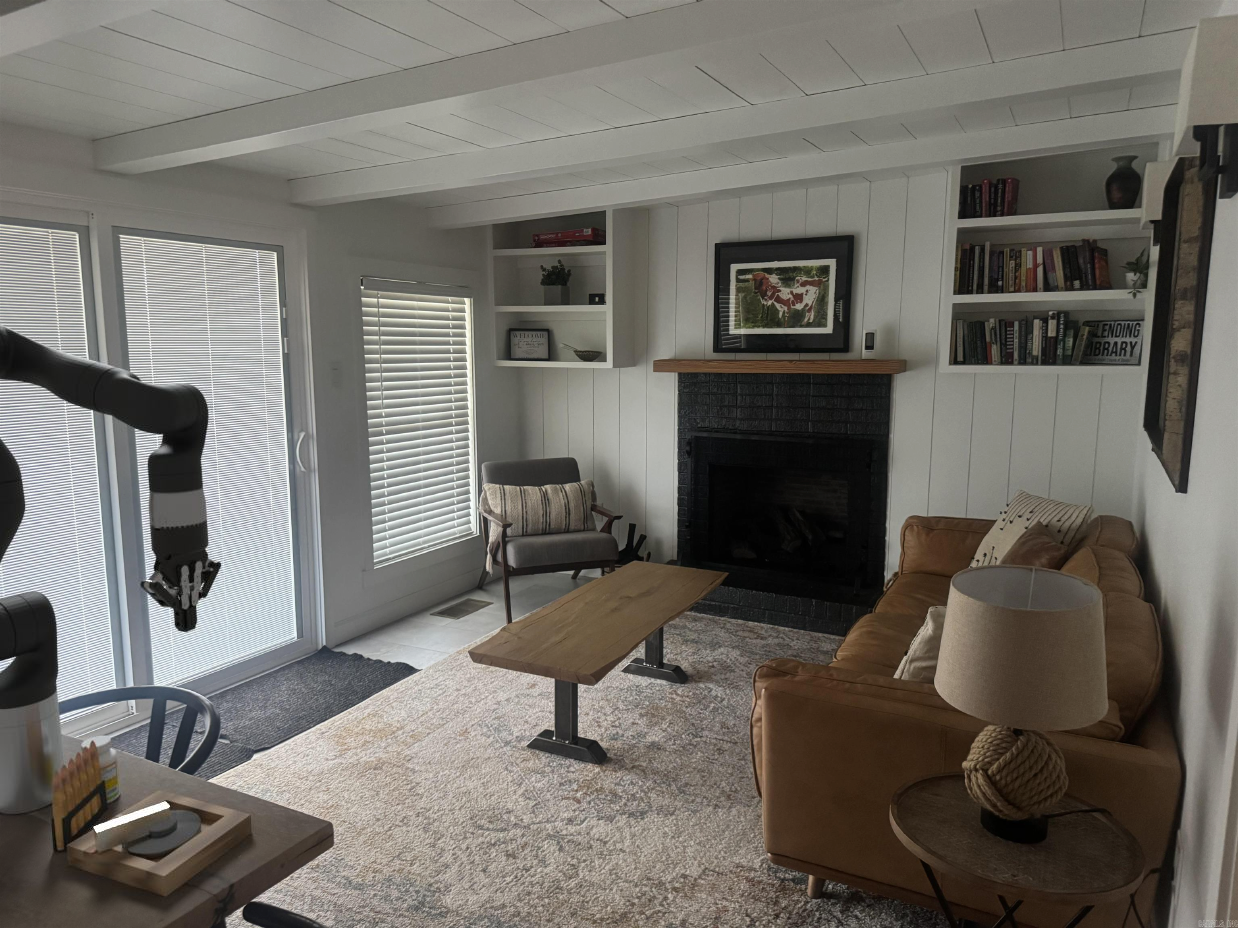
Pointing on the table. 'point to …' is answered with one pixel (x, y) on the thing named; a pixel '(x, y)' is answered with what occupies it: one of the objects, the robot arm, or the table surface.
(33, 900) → the table surface
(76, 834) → the ammunition clip
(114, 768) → the supplement bottle
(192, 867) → the wooden tray
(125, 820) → the dial
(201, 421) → the robot arm
